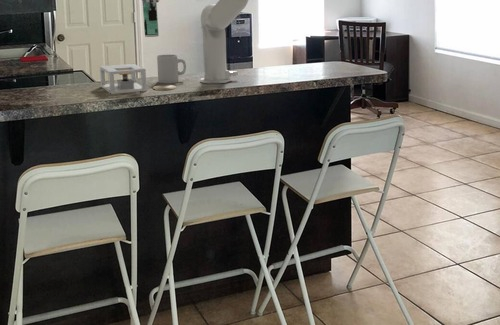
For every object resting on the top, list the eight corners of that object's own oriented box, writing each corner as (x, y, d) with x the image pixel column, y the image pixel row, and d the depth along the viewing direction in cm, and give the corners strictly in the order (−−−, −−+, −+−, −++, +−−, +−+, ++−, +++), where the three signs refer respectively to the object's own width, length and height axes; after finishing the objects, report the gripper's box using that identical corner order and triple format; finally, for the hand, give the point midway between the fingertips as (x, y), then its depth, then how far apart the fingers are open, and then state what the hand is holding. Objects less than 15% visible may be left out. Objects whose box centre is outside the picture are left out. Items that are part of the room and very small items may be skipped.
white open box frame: (135, 84, 288) (133, 63, 286) (146, 90, 272) (145, 69, 270) (101, 87, 283) (99, 66, 280) (111, 94, 267) (109, 71, 264)
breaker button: (130, 80, 276) (129, 70, 275) (133, 82, 271) (132, 72, 270) (117, 81, 274) (116, 71, 273) (120, 83, 270) (119, 73, 269)
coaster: (171, 85, 283) (171, 84, 283) (178, 89, 275) (178, 87, 275) (150, 87, 279) (150, 86, 279) (156, 91, 271) (156, 89, 271)
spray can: (159, 35, 282) (155, -16, 276) (158, 36, 277) (154, -16, 271) (145, 35, 282) (142, -16, 276) (144, 37, 276) (140, -15, 271)
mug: (160, 84, 288) (158, 57, 285) (156, 80, 296) (155, 55, 293) (188, 82, 291) (187, 55, 288) (184, 79, 299) (183, 53, 296)
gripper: (163, -28, 266) (166, 20, 271) (151, -28, 281) (154, 18, 286) (144, -27, 263) (147, 22, 268) (132, -27, 278) (136, 19, 283)
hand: (150, 19), depth 277 cm, fingers closed on spray can, 5 cm apart
